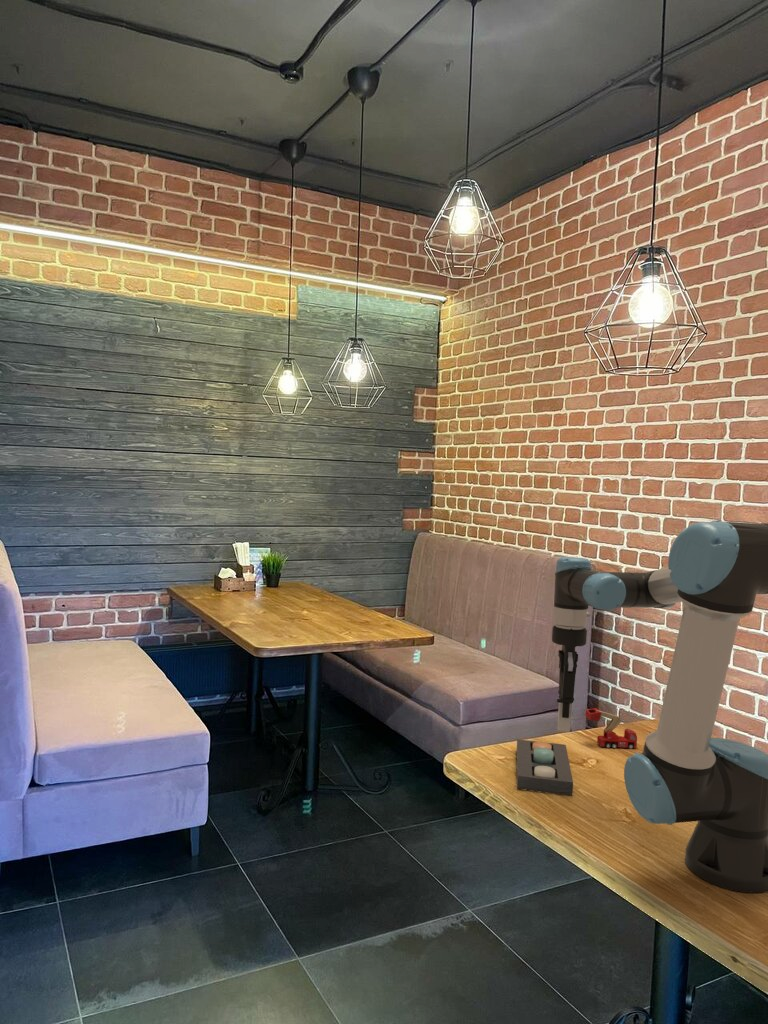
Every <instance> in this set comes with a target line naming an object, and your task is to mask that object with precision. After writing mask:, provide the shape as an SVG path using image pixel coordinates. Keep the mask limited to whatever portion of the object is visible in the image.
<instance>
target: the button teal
mask: <svg viewBox="0 0 768 1024" xmlns="http://www.w3.org/2000/svg"><path fill="white" fill-rule="evenodd" d="M553 756H554V752H553V751H552V750H551V749H548V748H535V749H534V757H533V763H542V764H550V765H553Z"/></svg>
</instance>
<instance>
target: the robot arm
mask: <svg viewBox="0 0 768 1024" xmlns="http://www.w3.org/2000/svg"><path fill="white" fill-rule="evenodd" d="M667 560H668V561H667V562H668V563H667V565H668V566H667V567H661V568H659V569H655V570H651V571H646V572H630V571H629V572H625V571H622V572H621V571H599V570H598V571H596V570H592V565H591V561H590V560H589V559H588V558H585V557H575V556H561V557H559V558H558V559H557V560H556V566H555V567H556V568H555V572H554V577H555V578H554V592H553V593H554V597H553V599H554V600H553V602H554V604H553V609H552V623H553V624H554V625H553V626H552V629H551V630H552V631H551V641H552V643H554V644H556V645H559V646H561V650H558V654H557V655H558V659H559V660H558V661H559V662H558V668H559V669H558V670H559V677H558V680H559V681H558V691H557V693H558V695H559V696H558V698H557V699H556V703H558V711H557V713H558V714H557V715H558V716H557V731H558V732H566V733H571V725H572V711H573V710H572V708H573V703H574V701H575V698H574V696H575V694H574V693H575V685H576V674H577V668H578V664H577V663H578V662H579V654H578V652H577V650H576V648H577V647H584V646H585V645H587V636H588V629H587V628H586V627H587V626H588V618H590V617H591V612H588V611H589V607H591V608H594V609H597V610H600V611H601V610H604V611H613V610H614V611H615V610H616V609H619V608H620V609H621V608H625V609H626V608H628V609H629V608H647V609H649V608H653V609H665V608H671V607H674V606H675V604H676V603H682V604H683V610H682V615H681V619H680V623H679V628H678V633H677V637H676V641H675V646H674V651H673V656H672V661H671V665H670V669H669V674H668V678H667V684H666V687H665V692H664V697H663V701H662V707H661V711H660V715H659V721H658V724H657V728H656V730H654V731H652V732H650V733H648V734H647V735H646V737H645V741H644V745H643V750H642V752H641V753H639V752H635V753H634V754H631V755H630V756H628V758H627V759H626V760H625V764H624V768H623V770H624V771H623V779H624V785H625V789H626V792H627V795H628V798H629V800H630V802H631V804H632V806H633V808H634V810H635V811H636V812H637V814H638V815H640V817H641V818H642V819H643V820H645V821H646V822H648V823H651V824H654V825H656V824H657V825H658V824H659V825H661V824H662V825H663V824H666V825H668V826H669V825H671V826H672V825H673V824H678V823H688V822H689V823H691V822H697V823H696V825H695V827H694V830H693V832H692V833H691V836H690V838H689V840H688V842H687V844H686V847H685V853H684V856H685V857H684V862H685V864H686V866H687V869H689V870H690V871H691V872H692V873H694V874H695V875H696V876H697V877H699V878H701V879H702V880H703V881H706V882H708V883H711V884H712V885H715V886H717V887H720V888H723V889H726V890H727V889H728V890H731V891H735V892H740V893H748V894H749V893H751V894H753V893H766V892H768V753H766V752H764V751H763V750H761V749H759V748H757V747H755V746H752V745H749V744H746V743H744V742H741V741H737V740H732V739H727V738H723V737H713V736H712V735H713V731H714V727H715V722H716V719H717V714H718V710H719V706H720V704H721V703H720V701H721V698H722V694H723V689H724V686H725V681H726V677H727V672H728V669H729V664H730V660H731V656H732V653H733V649H734V643H735V639H736V635H737V631H738V627H739V622H740V620H741V619H742V618H744V617H746V616H748V615H750V614H752V612H753V609H754V606H755V605H754V604H755V601H756V597H757V595H768V523H753V522H752V523H751V522H739V521H738V522H735V521H722V520H712V521H699V522H695V523H692V524H690V525H688V527H685V528H684V529H683V530H681V531H680V533H678V534H677V535H676V538H674V541H672V545H671V548H670V551H669V554H668V559H667Z"/></svg>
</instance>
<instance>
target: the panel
mask: <svg viewBox="0 0 768 1024" xmlns="http://www.w3.org/2000/svg"><path fill="white" fill-rule="evenodd" d="M534 742H538V741H535V740H529V739H528V740H526V739H520V738H519V739H518V738H517V739H516V750H515V751H516V789H517V790H521V789H526V790H525V791H529V790H534V791H533V792H537V791H541V792H540V793H545V792H548V794H553V793H555V795H563V796H570V797H573V793H574V792H573V791H574V790H573V789H574V779H573V774H572V770H571V764H570V760H569V754H568V749H567V744H562V743H555V742H554V743H553V742H545V741H544V742H545V743H548V744H550V745H551V746H552V748H551V750H552V751H553V752H554V756H553V765H550V764H542V763H533V757H534V751H533V750H532V746H533V743H534ZM536 766H548V767H551V768H553V769H554V770H555V778H549V777H540V776H534V769H535V767H536Z"/></svg>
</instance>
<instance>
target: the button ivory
mask: <svg viewBox="0 0 768 1024" xmlns="http://www.w3.org/2000/svg"><path fill="white" fill-rule="evenodd" d="M534 776H540V777H549V778H555V770H554V769H553V768H551V767H548V766H536V767H535V769H534Z"/></svg>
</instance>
